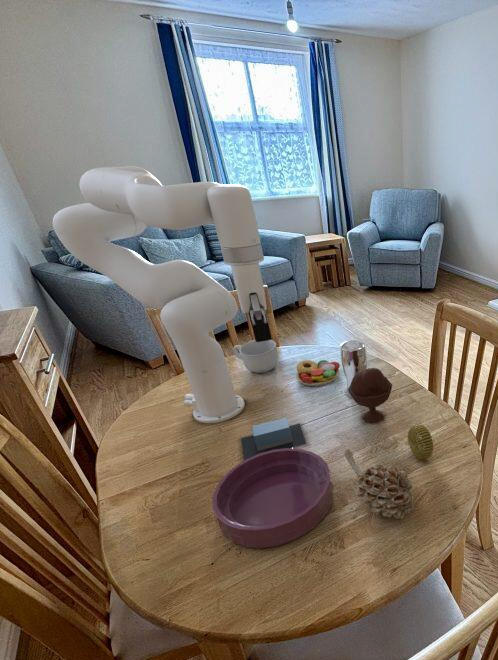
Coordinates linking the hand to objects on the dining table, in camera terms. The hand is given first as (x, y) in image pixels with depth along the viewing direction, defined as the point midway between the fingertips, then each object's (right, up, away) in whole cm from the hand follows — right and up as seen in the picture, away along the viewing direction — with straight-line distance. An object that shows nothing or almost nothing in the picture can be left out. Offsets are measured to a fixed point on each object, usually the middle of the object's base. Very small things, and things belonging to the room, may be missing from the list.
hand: (261, 332), depth 91 cm
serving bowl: (+7, -36, -8) cm, 37 cm away
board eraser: (0, -25, +8) cm, 27 cm away
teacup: (-18, -6, +41) cm, 45 cm away
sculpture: (+35, -28, +4) cm, 45 cm away
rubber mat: (0, -26, +8) cm, 27 cm away
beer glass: (+16, -14, +28) cm, 35 cm away
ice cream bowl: (+22, -20, +17) cm, 35 cm away
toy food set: (+3, -9, +36) cm, 37 cm away
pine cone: (+26, -35, -7) cm, 44 cm away
